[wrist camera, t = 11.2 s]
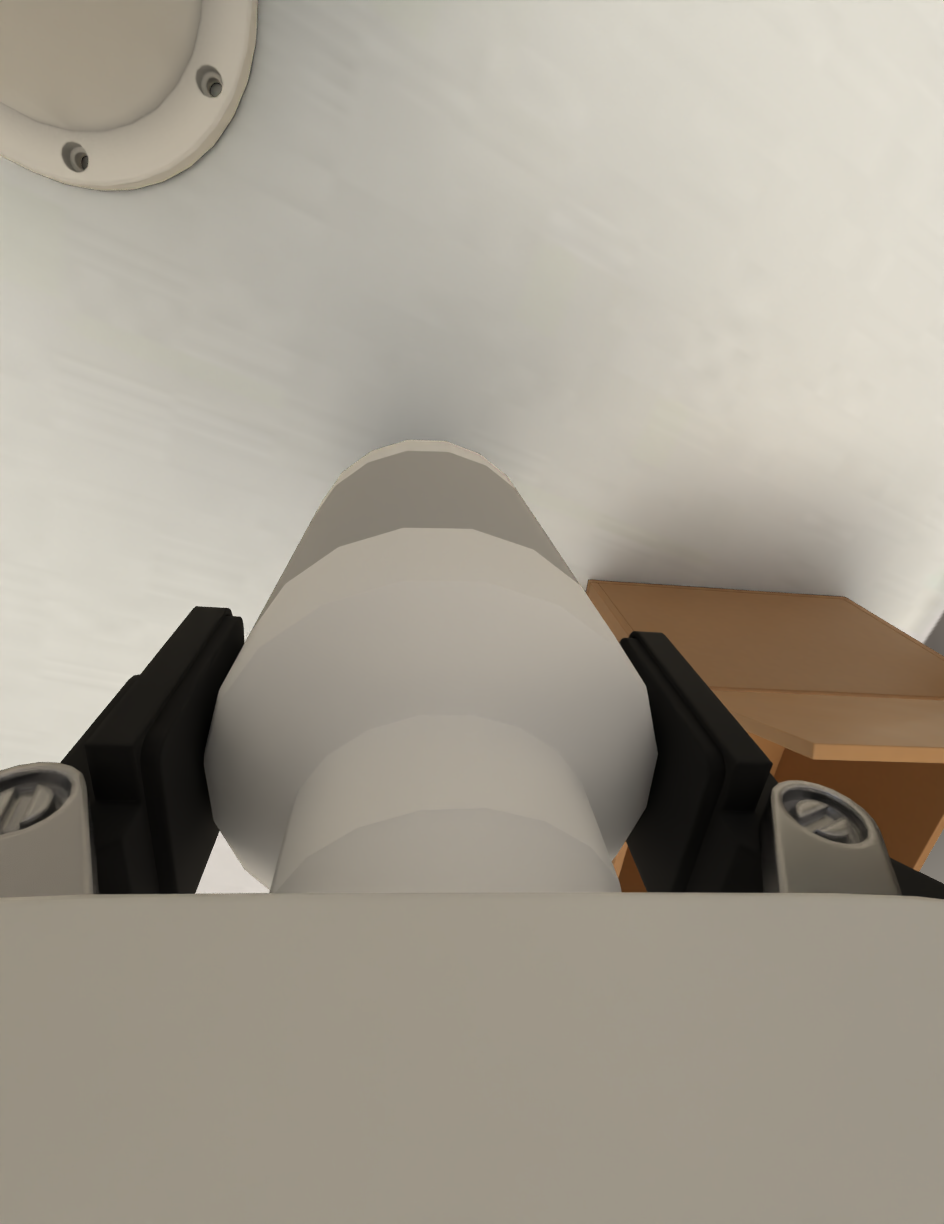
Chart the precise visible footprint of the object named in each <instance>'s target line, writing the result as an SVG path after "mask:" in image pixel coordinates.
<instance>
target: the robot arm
mask: <svg viewBox="0 0 944 1224" xmlns="http://www.w3.org/2000/svg"><path fill="white" fill-rule="evenodd" d="M257 9H258V0H0V156H2V157H4V158H6V159H8V160H10V161H12V162H14V163H16V164H18V165H20V166H22V167H24V168H26V169H28V170H30V171H32V172H34V173H37V174H39V175H42V176H45V177H47V178H50V179H53V180H55V181H58V182H61V183H63V184H67V185H72V186H77V187H83V188H88V189H93V190H99V191H107V190H134V189H138V188H142V187H145V186H149V185H153V184H157V183H161V182H164V181H166V180H167V179H169V178H171V177H173V176H175V175H176V174H178V173H180V172H182V171H184V170H186V169H187V168H189V167H191V166H192V165H193V164H194V163H195V162H196V161H197V160H198V159H199V158H201V157H202V156H203V155H204V154H205V153H206V152H207V151H208V150H209V149H210V148H211V147H212V146H214V145H215V143H216V142H217V140H218V139H219V137H220V136H221V134H222V133H223V131H224V130H225V128H226V127H227V125H228V124H229V122H230V121H231V119H232V118H233V116H234V114H235V112H236V109H237V107H238V104H239V102H240V100H241V97H242V95H243V92H244V90H245V87H246V85H247V82H248V78H249V73H250V69H251V64H252V59H253V54H254V49H255V45H256V32H257ZM216 82H218V83H220V84H221V86H222V91H221V93H220V94H219V95H218V96H217V97H213V96H211V93H210V87H211V85H212V84H213V83H216ZM83 156H88V159H89V160H88V167H87V168H86V169H85V170H84V169H83V168H82V165H81V159H82V158H83ZM619 644H620V645H621V647H622V649H623V650H624V652H625V653H626V655H627V657H628V658H629V660H630V661H631V663H632V664H633V666H634V668H635V669H636V671H637V672H638V674H639V676H640V677H641V679H642V680H643V682H644V684H645V685H646V688H647V694H648V699H649V705H650V711H651V716H652V722H653V728H654V734H655V740H656V746H657V751H658V756H657V761H656V765H655V770H654V774H653V779H652V784H651V788H650V793H649V797H648V802H647V806H646V809H645V810H644V812H643V813H642V815H641V817H640V818H639V820H638V822H637V823H636V825H635V826H634V828H633V830H632V831H631V833H630V834H629V836H628V838H627V839H626V843H627V845H628V848H629V850H630V852H631V855H632V857H633V859H634V862H635V864H636V867H637V869H638V871H639V874H640V876H641V879H642V881H643V883H644V886H645V888H646V890H647V892H503V893H502V892H501V893H227V894H195V892H196V890H197V887H198V885H199V882H200V879H201V877H202V874H203V872H204V869H205V867H206V864H207V861H208V859H209V856H210V854H211V851H212V849H213V846H214V844H215V841H216V838H217V836H218V833H219V831H220V830H219V828H218V827H217V825H216V824H215V822H214V820H213V814H212V808H211V803H210V797H209V792H208V786H207V781H206V775H205V770H204V752H205V747H206V742H207V738H208V734H209V730H210V726H211V721H212V717H213V713H214V709H215V705H216V700H217V696H218V692H219V689H220V687H221V686H222V684H223V682H224V680H225V678H226V676H227V675H228V673H229V671H230V669H231V667H232V665H233V664H234V662H235V660H236V658H237V656H238V654H239V653H240V651H241V649H242V647H243V645H244V628H243V621H242V618H241V617H235V616H232V612H231V610H230V609H229V608H216V607H198V606H196V607H195V608H193V610H192V611H191V612H190V613H189V615H188V616H187V617H186V618H185V620H184V621H183V622H182V623H181V625H180V626H179V627H178V628H177V630H176V631H175V632H174V633H173V634H172V636H171V637H170V638H169V639H168V641H167V642H166V643H165V644H164V646H163V647H162V648H161V649H160V651H159V652H158V653H157V654H156V656H155V657H154V658H153V659H152V661H151V662H150V663H149V664H148V666H147V667H146V668H145V669H144V671H143V672H142V673H141V674H140V675H134V676H133V677H132V678H130V679H129V680H128V681H127V682H126V684H125V685H124V686H123V687H122V689H121V690H120V691H119V692H118V693H117V695H116V696H115V697H114V698H113V699H112V701H111V702H110V703H109V704H108V706H107V707H106V708H105V709H104V710H103V712H102V713H101V714H100V715H99V716H98V718H97V719H96V720H95V721H94V723H93V724H92V725H91V726H90V727H89V729H88V730H87V731H86V732H85V733H84V735H83V736H82V737H81V738H80V739H79V741H78V742H77V743H76V744H75V746H74V747H73V748H72V749H71V750H70V752H69V753H68V754H67V755H66V756H65V758H64V759H63V760H62V761H61V763H53V762H37V763H30V764H23V765H18V766H14V767H11V768H7V769H4V770H1V771H0V1224H944V884H943V883H941V882H939V881H937V880H935V879H933V878H930V877H929V876H927V875H924V874H923V873H921V872H919V871H916V870H914V869H912V868H910V867H908V866H906V865H904V864H902V863H900V862H898V861H896V860H894V859H892V858H890V857H889V854H888V851H887V848H886V845H885V842H884V839H883V837H882V834H881V831H880V829H879V827H878V826H877V824H876V822H875V820H874V819H873V818H872V817H871V816H870V815H869V814H868V813H867V812H866V811H865V810H864V809H863V808H862V807H861V806H859V805H858V804H856V803H855V802H854V801H852V800H851V799H850V798H848V797H846V796H844V795H842V794H840V793H839V792H837V791H835V790H833V789H830V788H827V787H825V786H822V785H819V784H816V783H811V782H807V781H799V780H788V781H784V782H781V783H778V782H777V781H776V779H775V778H774V777H773V776H772V774H771V773H770V771H771V768H772V765H773V763H772V762H771V761H770V759H769V758H768V757H767V756H766V755H765V753H764V752H763V751H762V750H761V749H760V747H759V746H758V745H757V744H756V743H755V742H754V740H753V739H752V738H751V737H750V736H749V734H748V733H747V732H746V731H745V730H744V728H743V727H742V726H741V725H740V724H739V722H738V721H737V720H736V719H735V718H734V716H733V715H732V714H731V713H730V712H729V711H728V709H727V708H726V707H725V706H724V705H723V703H722V702H721V701H720V700H719V699H718V697H717V696H716V695H715V694H714V693H713V691H712V690H711V689H710V688H709V687H708V686H707V684H706V683H705V682H704V681H703V680H702V678H701V677H700V676H699V675H698V674H697V672H696V671H695V670H694V669H693V668H692V666H691V665H690V664H689V663H688V662H687V661H686V659H685V658H684V657H683V656H682V655H681V653H680V652H679V651H678V650H677V649H676V647H675V646H674V645H673V644H672V643H671V641H670V640H669V639H668V638H667V637H666V635H665V634H663V633H660V632H643V631H633V632H632V633H631V634H630V635H629V637H628V638H622V639H621V641H620V642H619Z"/></svg>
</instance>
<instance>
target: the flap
mask: <svg viewBox="0 0 944 1224" xmlns="http://www.w3.org/2000/svg"><path fill="white" fill-rule="evenodd" d="M712 691H713V693H714V694H715V695H716V696H717V697H718V699H719V700H720V701H721V702H722V703H723V705H724V706H725V707H726V708H727V709H728V711H729V712H730V713H731V714H732V715H733V716H734V718H735V719H736V720H737V721H738V722H739V724H740V725H741V726H742V727H743V728H744V730H746V731H748V732H750V733H753V734H755V735H757V736H760V737H762V738H764V739H767V740H769V741H771V742H774V743H776V744H778V745H781V746H783V747H785V748H788V749H790V750H792V751H795V752H797V753H799V754H802V755H804V756H806V757H809V758H811V759H813V760H848V761H882V762H917V763H944V700H921V699H898V698H875V697H852V696H830V695H807V694H784V693H761V692H738V691H716V690H712Z"/></svg>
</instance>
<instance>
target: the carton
mask: <svg viewBox="0 0 944 1224" xmlns="http://www.w3.org/2000/svg"><path fill="white" fill-rule="evenodd" d="M586 594H587V596H588V597H589V599H590V600H591V601H592V603H593V604H594V606H595V607H596V609H597V610H598V612H599V613H600V615H601V616H602V618H603V619H604V621H605V622H606V624H607V625H608V627H609V628H610V630H611V631H612V633H613V634H614V636H615V637H616V639H617V641H618V642H620V641H621V639H622V638H628V637H629V635H630V634H631V633H632V632H633V631H643V632H660V633H663V634H665V635H666V637H667V638H668V639H669V640H670V641H671V643H672V644H673V645H674V646H675V647H676V649H677V650H678V651H679V652H680V653H681V655H682V656H683V657H684V658H685V659H686V661H687V662H688V663H689V664H690V665H691V666H692V668H693V669H694V670H695V671H696V672H697V674H698V675H699V676H700V677H701V678H702V680H703V681H704V682H705V683H706V684H707V686H708V687H709V688H710V689H711V690H716V691H738V692H761V693H784V694H807V695H830V696H852V697H875V698H898V699H921V700H944V656H942V655H940V654H939V653H937V652H935V651H934V650H932V649H931V648H929V647H927V646H925V645H924V644H922V643H921V642H919V641H917V640H916V639H914V638H912V637H911V636H909V635H908V634H906V633H904V632H903V631H901V630H899V629H898V628H896V627H894V626H893V625H891V624H889V623H888V622H886V621H884V620H883V619H881V618H879V617H878V616H876V615H874V614H873V613H871V612H869V611H868V610H866V609H865V608H863V607H861V606H860V605H858V604H856V603H855V602H853V601H851V600H849V599H848V598H846V597H839V596H824V595H809V594H794V593H779V592H764V591H749V590H734V589H720V588H705V587H690V586H675V585H660V584H645V583H630V582H615V581H600V580H588V585H587V590H586ZM745 731H746V730H745ZM746 732H747V733H748V734H749V736H750V737H751V738H752V739H753V740H754V742H755V743H756V744H757V745H758V746H759V747H760V749H761V750H762V751H763V752H764V753H765V755H766V756H767V757H768V758H769V759H770V761H771V762H772V763H773V765H772V768H771V771H770V773H771V774H772V776H773V777H774V778H775V779H776V781H777V782H778V783H781V782H784V781H788V780H799V781H807V782H811V783H816V784H819V785H822V786H825V787H827V788H830V789H833V790H835V791H837V792H839V793H840V794H842V795H844V796H846V797H848V798H850V799H851V800H852V801H854V802H855V803H856V804H858V805H859V806H861V807H862V808H863V809H864V810H865V811H866V812H867V813H868V814H869V815H870V816H871V817H872V818H873V819H874V820H875V822H876V824H877V826H878V827H879V829H880V831H881V834H882V837H883V839H884V842H885V845H886V848H887V851H888V854H889V857H890V858H892V859H894V860H896V861H898V862H900V863H902V864H904V865H906V866H908V867H910V868H912V869H914V870H916V871H920V869H921V867H922V866H923V864H924V862H925V860H926V858H927V857H928V855H929V853H930V851H931V850H932V848H933V846H934V844H935V843H936V841H937V839H938V837H939V836H940V834H941V832H942V830H943V829H944V763H917V762H882V761H848V760H813V759H811V758H809V757H806V756H804V755H802V754H799V753H797V752H795V751H792V750H790V749H788V748H785V747H783V746H781V745H778V744H776V743H774V742H771V741H769V740H767V739H764V738H762V737H760V736H757V735H755V734H753V733H750V732H748V731H746ZM612 864H613V866H614V869H615V872H616V874H617V877H618V880H619V883H620V887H621V891H622V892H647V890H646V888H645V886H644V883H643V881H642V879H641V876H640V874H639V871H638V869H637V867H636V864H635V862H634V859H633V857H632V855H631V852H630V850H629V848H628V845H627V843H626V841H625V843H624V844H623V846H622V847H621V849H620V851H619V852H618V854H617V855H616V856H615V858H614V859H613V860H612Z"/></svg>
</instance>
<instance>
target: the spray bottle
mask: <svg viewBox="0 0 944 1224" xmlns="http://www.w3.org/2000/svg"><path fill="white" fill-rule="evenodd" d="M657 756H658V751H657V746H656V740H655V734H654V728H653V722H652V716H651V711H650V705H649V699H648V694H647V688H646V685H645V684H644V682H643V680H642V679H641V677H640V676H639V674H638V672H637V671H636V669H635V668H634V666H633V664H632V663H631V661H630V660H629V658H628V657H627V655H626V653H625V652H624V650H623V649H622V647H621V645H620V644H619V642H618V641H617V639H616V637H615V636H614V634H613V633H612V631H611V630H610V628H609V627H608V625H607V624H606V622H605V621H604V619H603V618H602V616H601V615H600V613H599V612H598V610H597V609H596V607H595V606H594V604H593V603H592V601H591V600H590V599H589V597H588V596H587V594H586V593H585V591H584V590H583V588H582V587H581V585H580V584H579V582H578V581H577V579H576V578H575V576H574V575H573V573H572V572H571V570H570V569H569V567H568V566H567V564H566V563H565V561H564V560H563V558H562V557H561V555H560V554H559V552H558V551H557V549H556V548H555V546H554V545H553V543H552V542H551V540H550V539H549V537H548V536H547V534H546V533H545V531H544V530H543V528H542V527H541V525H540V524H539V522H538V521H537V519H536V518H535V517H534V515H533V514H532V512H531V511H530V509H529V508H528V506H527V505H526V503H525V502H524V500H523V499H522V497H521V496H520V494H519V493H518V491H517V490H516V488H515V487H514V485H513V484H512V482H511V481H510V479H509V478H508V476H507V475H505V474H504V473H503V472H502V471H501V470H499V469H498V468H497V467H496V466H494V465H493V464H492V463H491V462H489V461H488V460H487V459H486V458H484V457H483V456H482V455H481V454H479V453H476V452H474V451H471V450H468V449H466V448H463V447H460V446H457V445H455V444H452V443H449V442H447V441H431V440H405V441H402V442H399V443H395V444H392V445H389V446H386V447H382V448H379V449H376V450H372V451H371V452H369V453H368V454H367V455H365V456H364V457H362V458H361V459H360V460H358V461H357V462H356V463H354V464H353V465H351V466H350V467H349V468H347V469H346V470H344V471H343V472H342V473H341V475H340V476H339V478H338V479H337V481H336V482H335V483H334V485H333V486H332V488H331V489H330V490H329V492H328V493H327V495H326V496H325V498H324V499H323V500H322V502H321V504H320V506H319V508H318V510H317V511H316V513H315V515H314V517H313V519H312V521H311V522H310V524H309V526H308V528H307V530H306V532H305V533H304V535H303V537H302V539H301V541H300V543H299V544H298V546H297V548H296V550H295V552H294V554H293V555H292V557H291V559H290V561H289V563H288V565H287V566H286V568H285V570H284V572H283V574H282V576H281V577H280V579H279V581H278V583H277V585H276V587H275V588H274V590H273V592H272V594H271V596H270V598H269V599H268V601H267V603H266V605H265V607H264V609H263V610H262V612H261V614H260V616H259V618H258V620H257V621H256V623H255V625H254V627H253V629H252V631H251V632H250V634H249V636H248V638H247V640H246V642H245V643H244V645H243V647H242V649H241V651H240V653H239V654H238V656H237V658H236V660H235V662H234V664H233V665H232V667H231V669H230V671H229V673H228V675H227V676H226V678H225V680H224V682H223V684H222V686H221V687H220V689H219V692H218V696H217V700H216V705H215V709H214V713H213V717H212V721H211V726H210V730H209V734H208V738H207V742H206V747H205V752H204V770H205V775H206V781H207V786H208V792H209V797H210V803H211V808H212V814H213V820H214V822H215V824H216V825H217V827H218V828H219V830H220V831H221V833H222V835H223V836H224V838H225V839H226V841H227V843H228V844H229V846H230V847H231V849H232V850H233V852H234V854H235V855H236V857H237V858H238V860H239V861H240V863H241V865H242V866H243V868H244V869H245V870H246V871H247V872H248V873H249V874H250V875H252V876H253V877H254V878H255V879H257V880H258V881H259V882H260V883H261V884H263V885H264V886H265V887H266V888H268V889H269V890H270V892H269V893H501V892H502V893H503V892H622V891H621V887H620V883H619V880H618V877H617V874H616V872H615V869H614V866H613V864H612V860H613V859H614V858H615V856H616V855H617V854H618V852H619V851H620V849H621V847H622V846H623V844H624V843H625V841H626V839H627V838H628V836H629V834H630V833H631V831H632V830H633V828H634V826H635V825H636V823H637V822H638V820H639V818H640V817H641V815H642V813H643V812H644V810H645V809H646V806H647V802H648V797H649V793H650V788H651V784H652V779H653V774H654V770H655V765H656V761H657Z"/></svg>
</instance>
